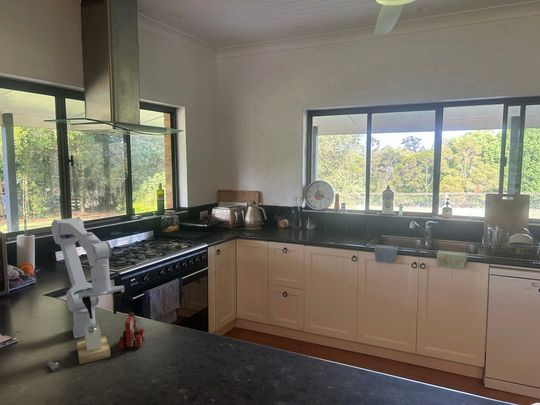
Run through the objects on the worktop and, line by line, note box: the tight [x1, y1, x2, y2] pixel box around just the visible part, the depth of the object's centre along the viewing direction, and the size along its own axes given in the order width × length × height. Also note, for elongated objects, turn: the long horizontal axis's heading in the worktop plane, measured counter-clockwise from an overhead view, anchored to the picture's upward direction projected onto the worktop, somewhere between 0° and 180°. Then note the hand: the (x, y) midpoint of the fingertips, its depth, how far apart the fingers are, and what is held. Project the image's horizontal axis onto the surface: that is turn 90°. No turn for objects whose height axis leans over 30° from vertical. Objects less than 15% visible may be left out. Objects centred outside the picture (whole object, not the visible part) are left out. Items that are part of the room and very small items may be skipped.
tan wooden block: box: [76, 335, 111, 365], centre depth 128 cm, size 12×9×2 cm
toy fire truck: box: [118, 312, 145, 350], centre depth 134 cm, size 7×12×10 cm, turn 10°
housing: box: [83, 322, 102, 352], centre depth 128 cm, size 8×4×7 cm, turn 30°
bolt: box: [46, 360, 61, 372], centre depth 119 cm, size 5×2×2 cm, turn 50°
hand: (103, 315), depth 133 cm, fingers open, 7 cm apart
